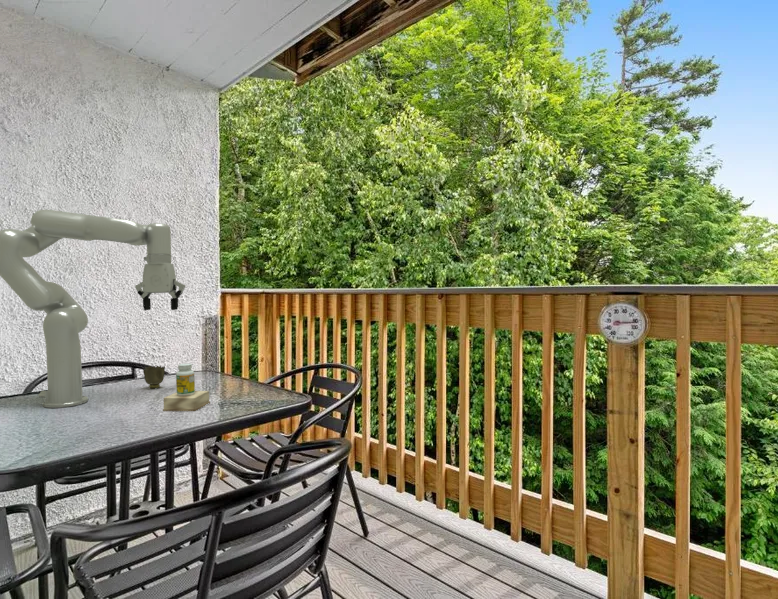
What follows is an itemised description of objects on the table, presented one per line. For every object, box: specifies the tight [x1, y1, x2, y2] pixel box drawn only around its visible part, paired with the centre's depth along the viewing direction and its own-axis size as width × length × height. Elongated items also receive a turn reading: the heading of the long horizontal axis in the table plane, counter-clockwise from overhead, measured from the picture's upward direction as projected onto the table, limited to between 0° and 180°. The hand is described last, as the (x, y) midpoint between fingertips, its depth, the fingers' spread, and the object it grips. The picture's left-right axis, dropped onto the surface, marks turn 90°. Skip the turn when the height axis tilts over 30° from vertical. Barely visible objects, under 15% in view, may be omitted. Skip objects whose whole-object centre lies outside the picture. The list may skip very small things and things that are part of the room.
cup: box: [142, 365, 166, 390], centre depth 187 cm, size 8×7×8 cm
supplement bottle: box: [175, 363, 196, 396], centre depth 158 cm, size 5×5×10 cm
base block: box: [162, 390, 211, 412], centre depth 159 cm, size 10×10×4 cm
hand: (160, 309), depth 172 cm, fingers open, 9 cm apart
